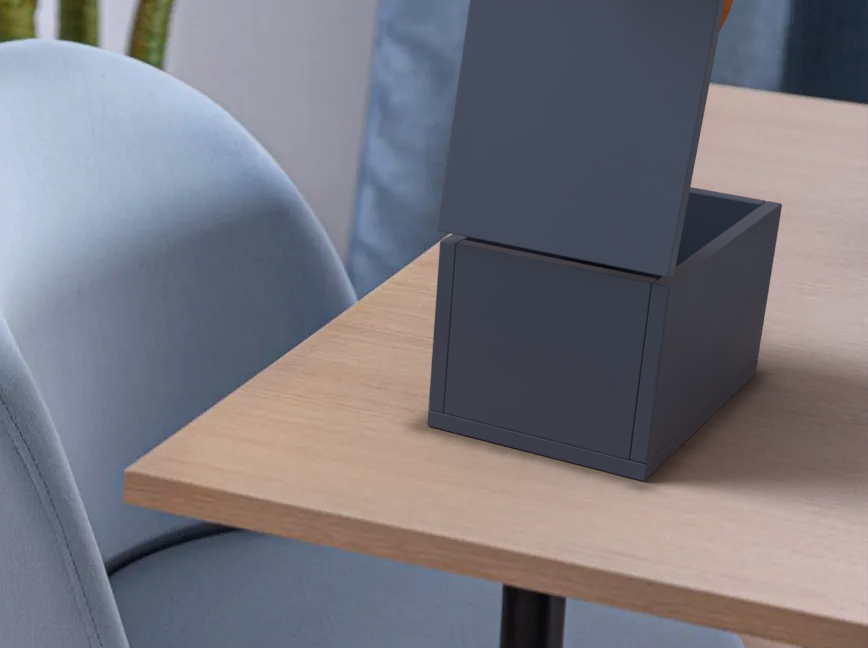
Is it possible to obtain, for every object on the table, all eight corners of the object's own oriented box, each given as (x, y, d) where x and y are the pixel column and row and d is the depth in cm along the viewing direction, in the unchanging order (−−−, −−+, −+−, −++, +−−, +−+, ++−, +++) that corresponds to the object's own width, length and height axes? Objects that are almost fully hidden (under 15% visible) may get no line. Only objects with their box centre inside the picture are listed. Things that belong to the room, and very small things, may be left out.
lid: (502, -173, 72) (445, -192, 67) (753, -150, 68) (711, -169, 63) (444, 229, 77) (387, 237, 72) (674, 275, 72) (629, 287, 68)
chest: (561, 331, 93) (578, 166, 89) (756, 374, 89) (782, 203, 85) (426, 425, 81) (439, 240, 77) (644, 481, 76) (669, 287, 72)
